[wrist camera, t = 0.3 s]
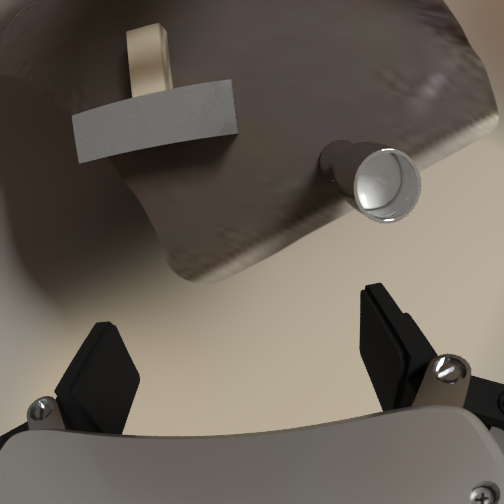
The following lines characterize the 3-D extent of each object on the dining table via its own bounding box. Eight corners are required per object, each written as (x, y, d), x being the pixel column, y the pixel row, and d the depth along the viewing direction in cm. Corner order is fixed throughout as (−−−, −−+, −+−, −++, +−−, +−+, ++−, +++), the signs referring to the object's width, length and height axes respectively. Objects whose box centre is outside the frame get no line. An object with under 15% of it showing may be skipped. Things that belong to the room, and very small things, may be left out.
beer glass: (317, 134, 37) (355, 141, 23) (369, 139, 37) (427, 152, 24) (313, 187, 40) (347, 224, 26) (364, 191, 40) (416, 227, 26)
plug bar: (137, 38, 32) (126, 31, 28) (166, 31, 32) (158, 22, 28) (147, 131, 37) (137, 132, 33) (177, 125, 37) (169, 125, 33)
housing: (92, 115, 35) (71, 115, 30) (233, 85, 35) (231, 79, 30) (98, 157, 38) (79, 163, 33) (239, 132, 37) (237, 133, 32)
